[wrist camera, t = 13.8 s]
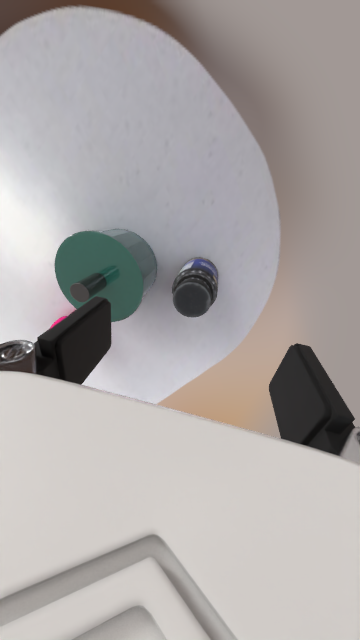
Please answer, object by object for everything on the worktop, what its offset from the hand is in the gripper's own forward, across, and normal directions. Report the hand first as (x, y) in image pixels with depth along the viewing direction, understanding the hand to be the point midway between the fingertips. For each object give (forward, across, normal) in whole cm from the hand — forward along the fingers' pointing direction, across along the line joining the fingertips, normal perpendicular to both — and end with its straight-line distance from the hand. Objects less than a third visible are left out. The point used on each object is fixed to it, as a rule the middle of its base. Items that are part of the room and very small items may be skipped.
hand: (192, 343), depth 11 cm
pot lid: (+16, +14, +5) cm, 22 cm away
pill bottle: (+25, +1, +4) cm, 26 cm away
